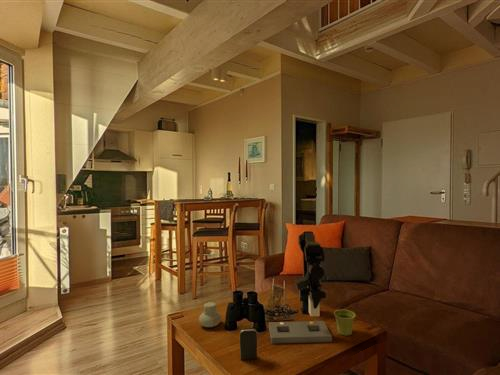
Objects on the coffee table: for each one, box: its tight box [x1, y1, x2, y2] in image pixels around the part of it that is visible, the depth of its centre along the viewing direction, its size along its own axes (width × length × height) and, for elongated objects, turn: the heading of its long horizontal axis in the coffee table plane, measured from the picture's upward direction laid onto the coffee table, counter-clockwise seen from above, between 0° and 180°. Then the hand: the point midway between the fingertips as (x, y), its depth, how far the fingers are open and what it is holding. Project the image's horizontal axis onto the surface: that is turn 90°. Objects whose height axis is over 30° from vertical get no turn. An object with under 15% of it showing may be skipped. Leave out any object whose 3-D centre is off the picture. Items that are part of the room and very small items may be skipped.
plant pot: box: [333, 309, 356, 337], centre depth 138 cm, size 9×9×9 cm
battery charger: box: [239, 327, 258, 361], centre depth 120 cm, size 7×4×11 cm, turn 94°
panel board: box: [268, 320, 333, 344], centre depth 137 cm, size 14×26×3 cm, turn 91°
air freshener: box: [198, 301, 223, 328], centre depth 147 cm, size 11×8×10 cm
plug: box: [308, 295, 321, 317], centre depth 137 cm, size 4×4×8 cm
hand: (314, 306), depth 137 cm, fingers closed on plug, 4 cm apart
